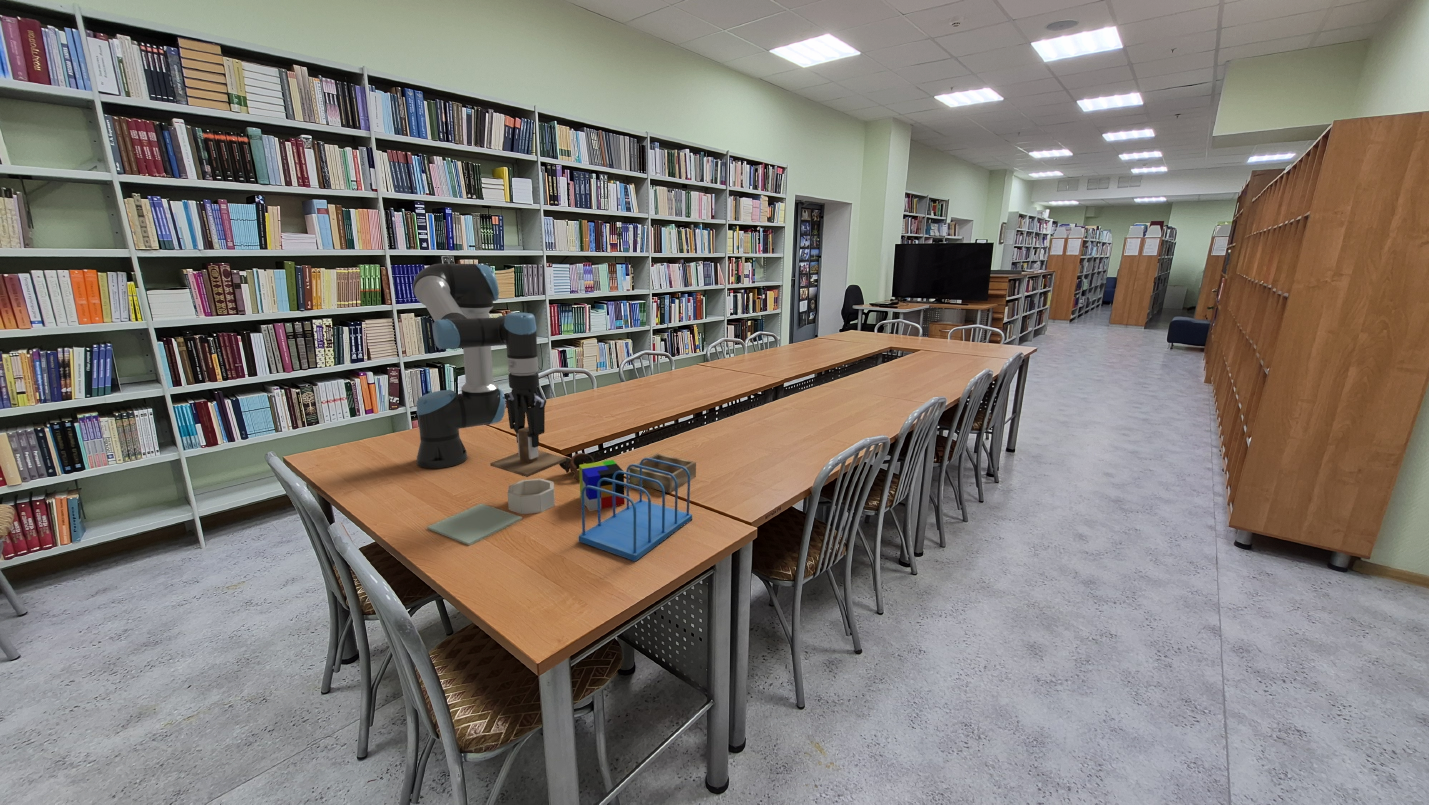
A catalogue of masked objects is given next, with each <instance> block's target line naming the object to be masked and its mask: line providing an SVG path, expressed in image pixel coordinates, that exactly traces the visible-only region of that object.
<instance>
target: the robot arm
mask: <svg viewBox="0 0 1429 805" xmlns="http://www.w3.org/2000/svg"><path fill="white" fill-rule="evenodd" d="M412 291H413V295H414V296H415V298H416V300H418V302H420V304H422V305H423V306H425V307H426V309H427V311H428V312H429V314H430V316H431V318H432V319H433V321H434V322H433V323H432V335H433V340H434V344H435V346H436V347H437V348H438V349H440V350H458V349H462V351H463V352H462V354H463V363H464V375H465V377H464V378H465V383H464V384H463V385H462V386H461V387H460V388H461V393H456V391H454V390H453V389H445V390H444V389H443V390H437V391H432V392H428V393H425V394H424V395H422V396H420V397H419V398H418V399H417V400H416V414H417V420H418V430H419V438H420V443H419V447H418V451H417V455H416V464H417V466H419V467H420V468H423V469H428V470H429V469H431V470H432V469H433V470H435V469H445V468H450V467H454V466H458V465H460V464H462V463H464V462H465V461H466V460H468V452H467V450H466V448H465V445H464V443H463V441H462V440H461V437H460V429H467V428H474V427H480V426H489V425H493V424H498V423H500V422H502V420H503V418H504V417H505V416H504V415H505V413H506V409H507V415H508V423H509V429H510V430H514V432H515V433H516V436H515V437H516V443H517V448H518V449H517V451H518V452H517V453H519V456H520V451H519V436H518V430H519V429H522V428H525V427H526V420H527V427H528V428H529V433H530V435H528V451H529V459H533V458H536V457H538V450H539V447H540V439H539V438H540V437H539V436H540V435H542V434H545V425H546V424H545V418H546V417H545V416H546V415H545V414H546V413H545V411H546V409H545V407H546V404H547V399H546V398H543V399H542V398H541V397H540V396H539V393H538V387H539V386H540V378H539V376H540V375H539V373H538V372H539V359H538V341H537V340H538V338H537V328H538V327H537V324H536V317H535V315H534V313H530V312H529V313H528V312H509V313H508V312H507V314H506V315H499V316H496V317H490V311H491V310H492V309H493V308H494V302H496V301H498V300H499V297H500V296H499V294H500V292H499V291H500V290H499V284H498V280H497V277H496V274H495V273H494V271H493V269H492V268H491V266H489V265H486V264H479V263H434V264H431V265H429V266H426V267H425V268H423V269H422V270H420V271H419V272H418V273H417V274H416V276H415V277H414V280H413V284H412ZM497 346H498V347H499V346H506V357H507V358H506V359H507V371H508V373H509V374H508V376H507V377H508V386H509V388H510V389H511V390H510V391H511V392H508V393H505V394H504V391H503V390H502V389H500V388H499V385H498V384H497V383H495V382H494V375H493V374H494V373H493V372H494V371H493V370H494V369H493V358H492V347H497ZM506 407H507V408H506Z"/></svg>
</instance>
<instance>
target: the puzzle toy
mask: <svg viewBox="0 0 1429 805" xmlns="http://www.w3.org/2000/svg"><path fill="white" fill-rule="evenodd" d="M578 471H579V475H580V479H579V496H580V498H581V492H582V489H583V488H584V487H586V486H594V487H597V484H598V481H599V480H600V479H602V478H608V479H612V480H613V475H614V473H615V472H617V471H624V470H623V469H622V468H621V467H620V466H619V464H618V463H617V462H616V461H615V460H614V459H611V460H604V461H596V462H594V463H592V462H591V463H585V464H582V465H579V469H578ZM615 480H616V481H620V482H623V483H625V474H622V473H618V474H616V476H615ZM600 488H601V489H605V490H608V491H611V492H613V482H609V481H605V480H603V481H601V483H600ZM615 493H618V494H621V495H625V486H624V485H620V484H617V483H615ZM625 502H626V501H625V498H622V497H618V496H615V507H617V506H624V505H625V504H626V503H625ZM584 506H586V508H587V510H588V511H589V512H591V511H598V503H597V490H594V489H591V488H586V489H585V491H584ZM606 508H613V495H612V494H608V493H605V492H602V491H600V510H601V509H606Z"/></svg>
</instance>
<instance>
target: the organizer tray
mask: <svg viewBox="0 0 1429 805" xmlns="http://www.w3.org/2000/svg"><path fill="white" fill-rule="evenodd" d="M648 458H652V459H656V460H661V461H665V462H669V463H673V464H677V465H681V466H684V467H685V468H686V469H687V470H688V471H689V473H690V481H692V480H693V479H695V478H696V477H697V462H696V461H691V460H689V459H684V458H683V459H682V458H678V457H674V456H669V455H666V454H660V453H656V454H654V455H651V456H650V457H648ZM640 462H641V461H639V462H638V463H636V464H637V465H640ZM642 466H645V467H649V468H653V469H657V470H661V471H665V472H669V473H671V474H673V475H674V476H675V478H676V480H677V483H678V489H679V488H680V487H682V486H683V485H685V484H688V475H687V473H686V471H685V470H684V469H682V468H679V467H675V466H671V465H667V464H663V463H659V462H654V461H650V460H644V461H643V463H642ZM629 473H632V474H636V475H640V468H638V467H634V466H632V467H630V468H629ZM642 476H644V477H647V478H651V479H655V480H658V481H659V482H660V483H661V484H662V485H663V487H664V489H665V493H666V494H667V493H668V494H670V493H673V492H675V481H674V479H673V478H672V477H671V476H669V475H666V474H663V473H659V472H655V471H651V470H647V469H643V468H642ZM629 484H632V485H636V486H640V478H638V477H634V476H630V475H629ZM642 487H643V488H644V487H645V488H649V489H652V490H657V491H660V492H662V488H661V486H660V485H659V484H657V483H655V482H652V481H649V480H645V479H642Z"/></svg>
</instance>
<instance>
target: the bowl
mask: <svg viewBox="0 0 1429 805" xmlns="http://www.w3.org/2000/svg"><path fill="white" fill-rule="evenodd" d="M555 496H556V495H555V483H554V481H551V480H547V479H543V478H533V479H522V480H519V481H518V482H517V481H516V482H515V483H513V484H510V485H508V488H507V502H508V503H507V504H508V511H511V512H513V513H517V514H520V515H528V514H536V513H537V514H538V513H539V514H540V513H543V512H544V511H546V510H548V509H551V508H553V507H555V504H556V503H555V502H556V501H555V500H556V499H555Z"/></svg>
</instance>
